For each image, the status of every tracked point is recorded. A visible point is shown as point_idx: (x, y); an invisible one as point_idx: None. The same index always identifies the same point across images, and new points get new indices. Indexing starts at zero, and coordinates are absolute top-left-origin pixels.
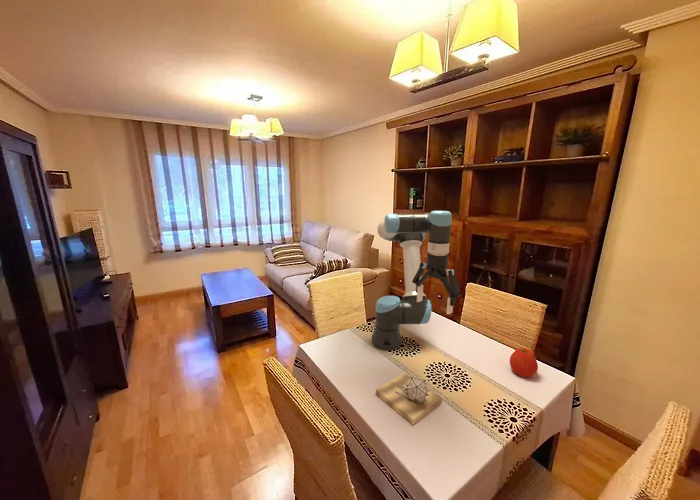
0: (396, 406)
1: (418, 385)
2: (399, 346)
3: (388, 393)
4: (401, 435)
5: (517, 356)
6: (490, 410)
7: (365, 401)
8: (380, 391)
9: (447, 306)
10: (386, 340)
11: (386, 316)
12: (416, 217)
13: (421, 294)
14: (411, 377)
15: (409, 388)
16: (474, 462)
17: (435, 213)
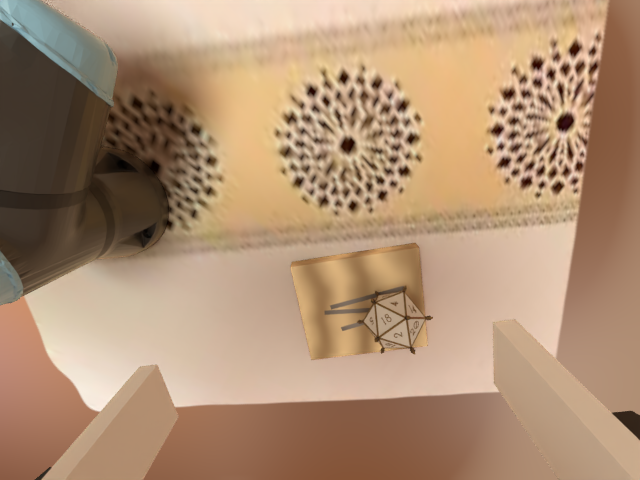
0: (378, 351)
1: (409, 341)
2: (159, 184)
3: (337, 344)
4: (429, 368)
5: None
6: (509, 151)
7: (321, 378)
8: (323, 355)
9: (550, 457)
10: (134, 234)
11: (47, 276)
12: None
13: (114, 450)
14: (377, 341)
15: (390, 347)
16: (554, 299)
17: None
